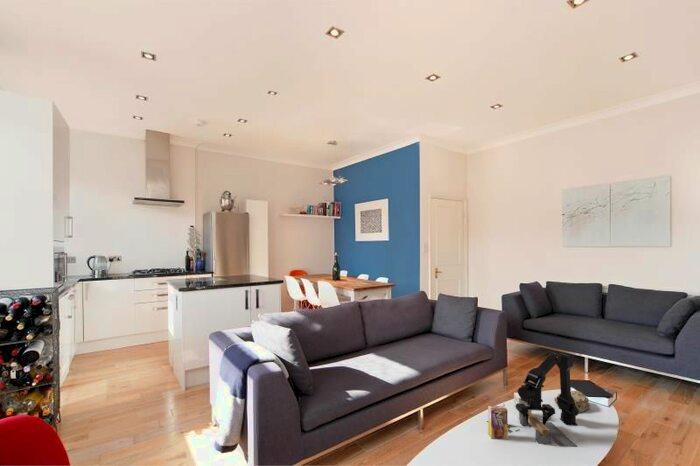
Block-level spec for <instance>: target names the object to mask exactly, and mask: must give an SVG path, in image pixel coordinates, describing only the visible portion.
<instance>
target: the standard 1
mask: <svg viewBox="0 0 700 466" xmlns="http://www.w3.org/2000/svg"><path fill="white" fill-rule="evenodd" d="M519 424H520V425H521V426H522V427H530V428H531V427H532V428H534V427H533V426H532V425H531V424H530V423H529V422H528V425H527V424H526V423H525V420H524V417H523V415H522V414H520V419H519Z"/></svg>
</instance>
